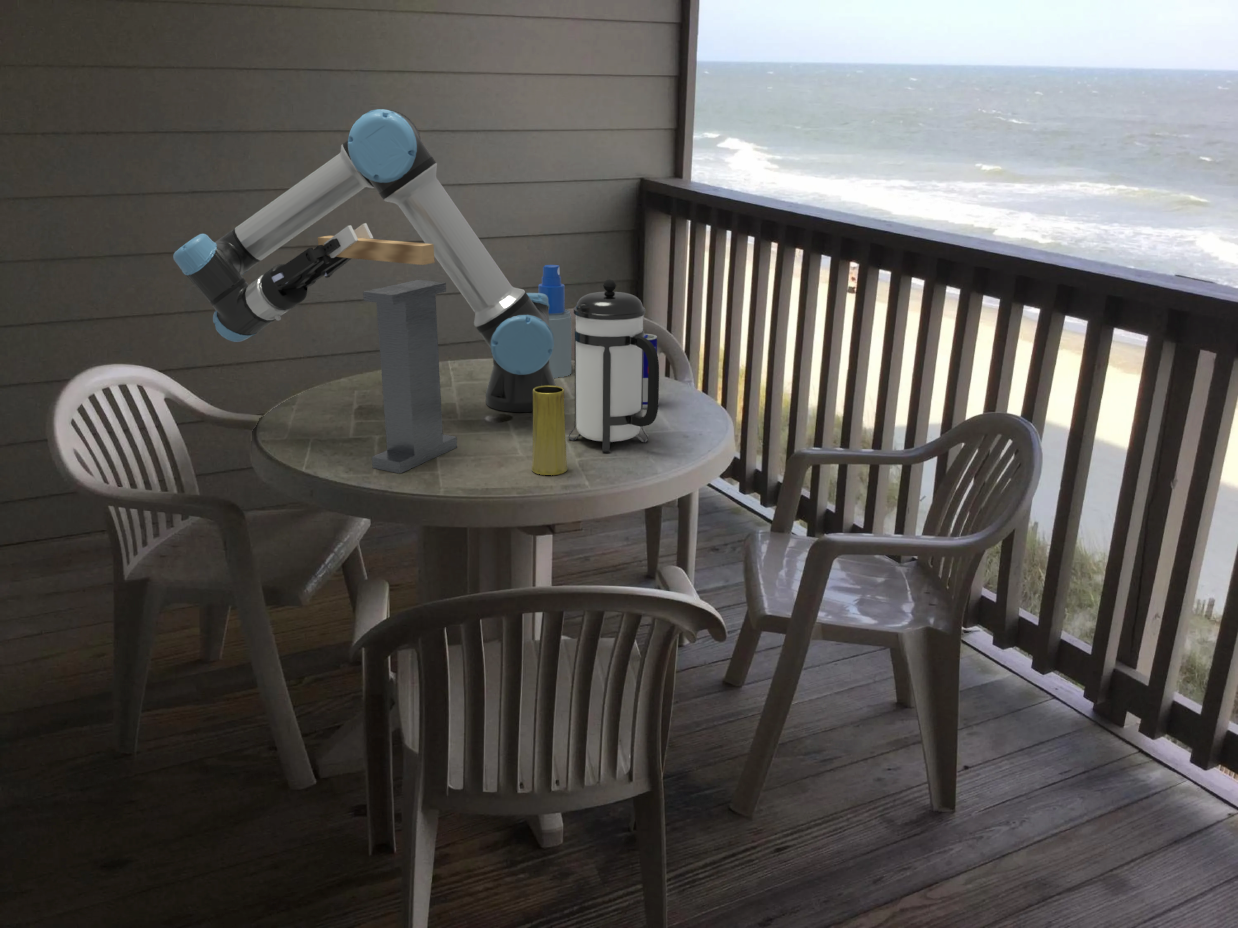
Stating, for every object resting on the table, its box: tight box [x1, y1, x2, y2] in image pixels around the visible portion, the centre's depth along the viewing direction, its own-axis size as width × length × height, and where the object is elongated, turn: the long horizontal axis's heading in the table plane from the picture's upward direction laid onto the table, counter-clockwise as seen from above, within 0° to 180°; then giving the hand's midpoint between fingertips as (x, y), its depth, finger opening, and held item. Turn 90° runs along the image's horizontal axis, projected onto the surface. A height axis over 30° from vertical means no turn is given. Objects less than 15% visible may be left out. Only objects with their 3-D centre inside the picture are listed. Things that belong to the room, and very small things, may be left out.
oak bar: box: [317, 235, 436, 266], centre depth 165 cm, size 22×3×3 cm, turn 63°
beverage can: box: [641, 333, 658, 410], centre depth 205 cm, size 5×5×15 cm
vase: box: [531, 385, 568, 476], centre depth 167 cm, size 6×6×14 cm
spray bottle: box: [537, 264, 572, 379], centre depth 228 cm, size 9×9×25 cm
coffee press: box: [568, 278, 660, 454], centre depth 180 cm, size 17×16×30 cm
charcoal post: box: [362, 279, 458, 474], centre depth 170 cm, size 6×16×30 cm, turn 152°
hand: (360, 232), depth 165 cm, fingers closed on oak bar, 3 cm apart
